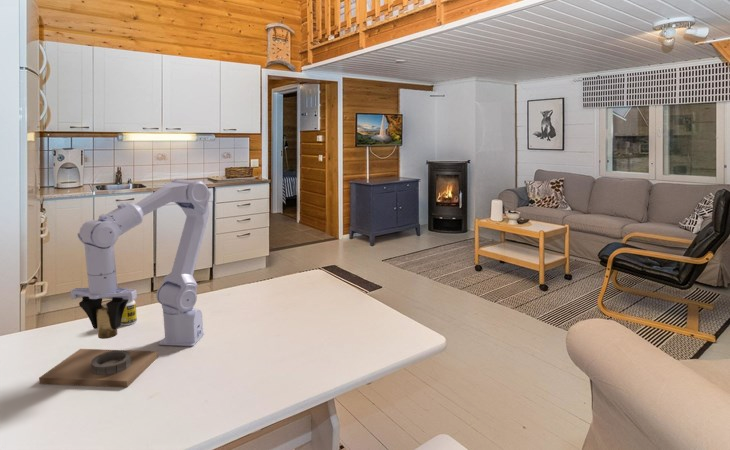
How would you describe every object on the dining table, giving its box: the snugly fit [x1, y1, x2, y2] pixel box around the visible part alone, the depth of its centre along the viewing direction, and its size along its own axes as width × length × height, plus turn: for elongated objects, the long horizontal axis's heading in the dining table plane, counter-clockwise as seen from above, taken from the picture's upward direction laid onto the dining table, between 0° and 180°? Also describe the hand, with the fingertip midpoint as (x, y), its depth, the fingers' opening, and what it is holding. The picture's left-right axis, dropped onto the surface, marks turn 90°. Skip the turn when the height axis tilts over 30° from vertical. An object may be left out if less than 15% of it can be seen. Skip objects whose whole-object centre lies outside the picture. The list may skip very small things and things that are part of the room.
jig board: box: [38, 348, 159, 388], centre depth 106 cm, size 20×14×4 cm
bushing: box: [95, 304, 119, 340], centre depth 105 cm, size 4×4×7 cm
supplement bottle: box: [120, 299, 138, 326], centre depth 132 cm, size 5×5×8 cm
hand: (107, 327), depth 105 cm, fingers closed on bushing, 4 cm apart
